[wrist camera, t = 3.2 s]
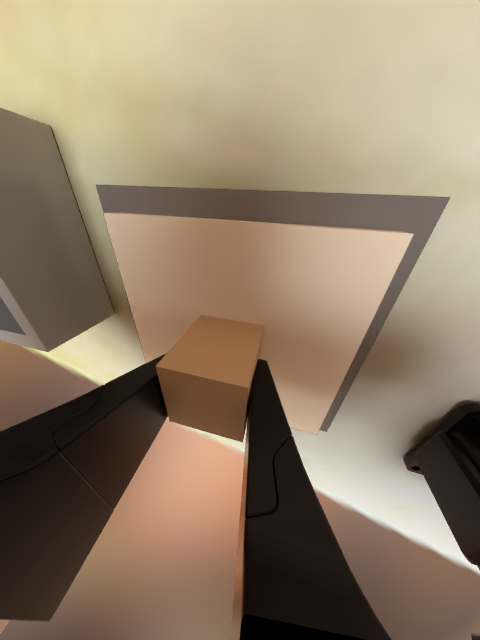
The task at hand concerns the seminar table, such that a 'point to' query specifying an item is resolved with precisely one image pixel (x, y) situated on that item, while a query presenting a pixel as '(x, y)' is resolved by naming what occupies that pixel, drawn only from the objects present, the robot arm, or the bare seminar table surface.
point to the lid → (250, 309)
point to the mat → (301, 210)
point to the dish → (43, 243)
